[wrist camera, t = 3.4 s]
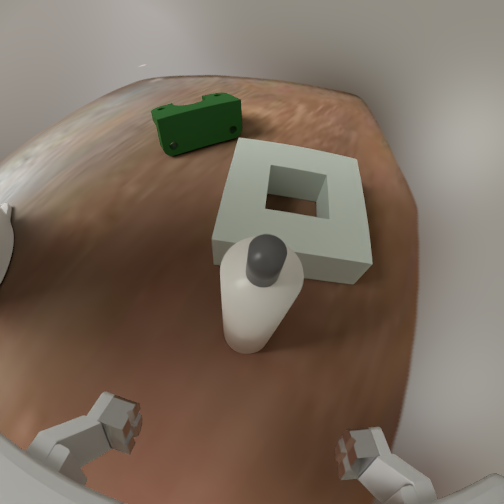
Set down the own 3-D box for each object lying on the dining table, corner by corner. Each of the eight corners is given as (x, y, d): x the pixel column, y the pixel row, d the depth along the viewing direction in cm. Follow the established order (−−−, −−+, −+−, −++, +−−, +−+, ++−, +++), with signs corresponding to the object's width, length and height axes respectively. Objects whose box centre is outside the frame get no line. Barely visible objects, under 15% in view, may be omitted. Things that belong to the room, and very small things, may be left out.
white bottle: (220, 350, 22) (210, 287, 10) (227, 307, 24) (228, 205, 12) (266, 356, 22) (314, 302, 10) (271, 313, 24) (315, 219, 12)
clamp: (216, 146, 42) (233, 94, 37) (231, 160, 38) (252, 102, 33) (143, 140, 35) (157, 80, 30) (149, 154, 31) (165, 85, 26)
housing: (213, 264, 26) (211, 239, 23) (237, 165, 33) (238, 137, 30) (353, 284, 26) (372, 264, 23) (345, 184, 34) (356, 159, 30)
